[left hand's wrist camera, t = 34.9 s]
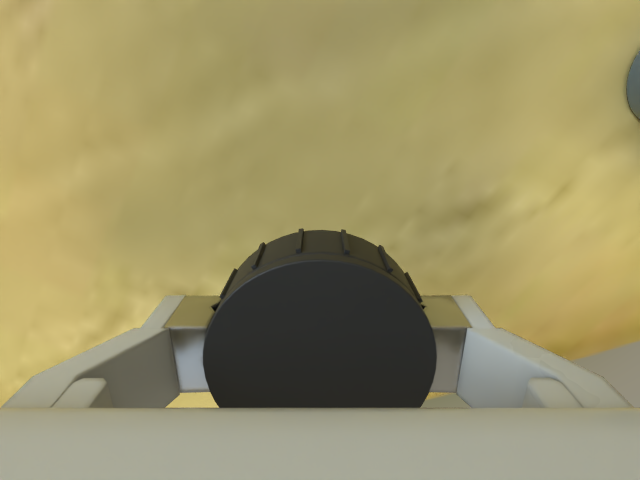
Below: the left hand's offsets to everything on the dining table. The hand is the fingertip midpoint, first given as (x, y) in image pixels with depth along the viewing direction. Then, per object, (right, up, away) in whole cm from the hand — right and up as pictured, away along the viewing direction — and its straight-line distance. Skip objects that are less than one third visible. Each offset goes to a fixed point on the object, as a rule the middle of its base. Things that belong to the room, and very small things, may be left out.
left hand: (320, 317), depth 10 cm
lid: (0, -1, -2) cm, 2 cm away
